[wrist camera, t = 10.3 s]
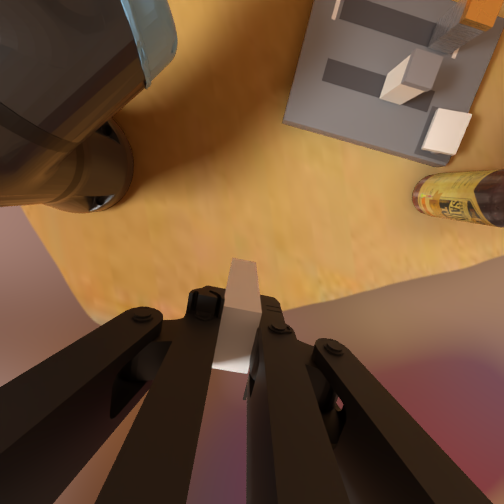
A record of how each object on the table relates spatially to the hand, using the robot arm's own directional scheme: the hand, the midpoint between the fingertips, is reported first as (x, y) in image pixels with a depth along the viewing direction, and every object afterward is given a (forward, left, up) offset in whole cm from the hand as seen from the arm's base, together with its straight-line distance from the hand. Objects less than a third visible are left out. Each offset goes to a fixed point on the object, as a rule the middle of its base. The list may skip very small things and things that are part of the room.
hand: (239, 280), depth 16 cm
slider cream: (+15, +23, -22) cm, 35 cm away
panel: (+14, +25, -24) cm, 37 cm away
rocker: (+23, +19, -22) cm, 37 cm away
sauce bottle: (+27, +12, -24) cm, 38 cm away
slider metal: (+19, +30, -22) cm, 41 cm away
